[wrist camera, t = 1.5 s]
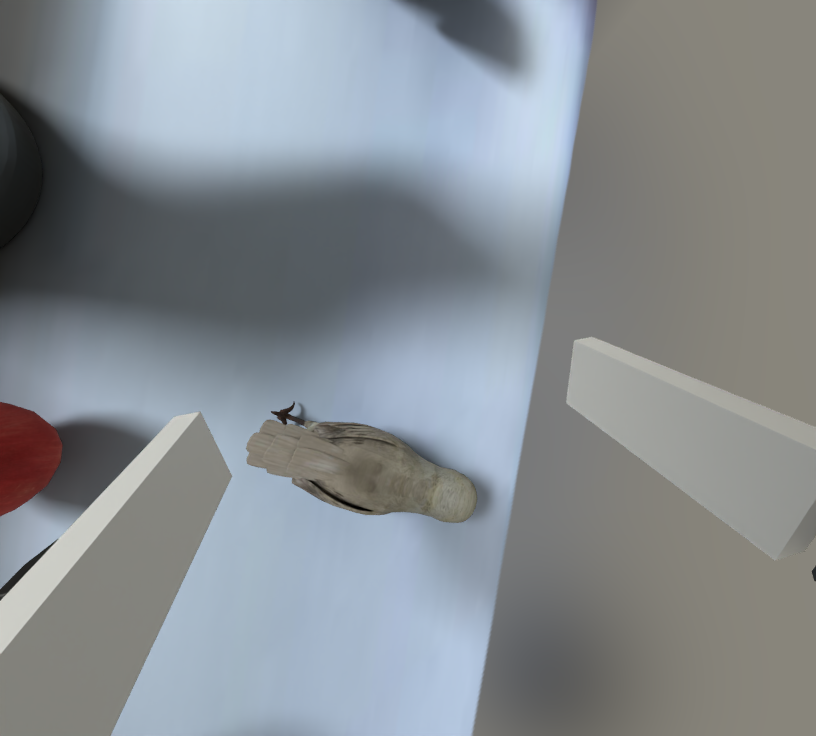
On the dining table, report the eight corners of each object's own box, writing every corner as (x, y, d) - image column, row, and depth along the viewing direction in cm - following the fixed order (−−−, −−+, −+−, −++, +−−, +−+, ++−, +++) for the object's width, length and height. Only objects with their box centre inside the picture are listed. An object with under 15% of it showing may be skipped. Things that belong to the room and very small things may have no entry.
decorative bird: (443, 522, 25) (497, 567, 18) (249, 466, 21) (222, 496, 14) (461, 459, 26) (518, 479, 19) (282, 394, 22) (272, 389, 15)
